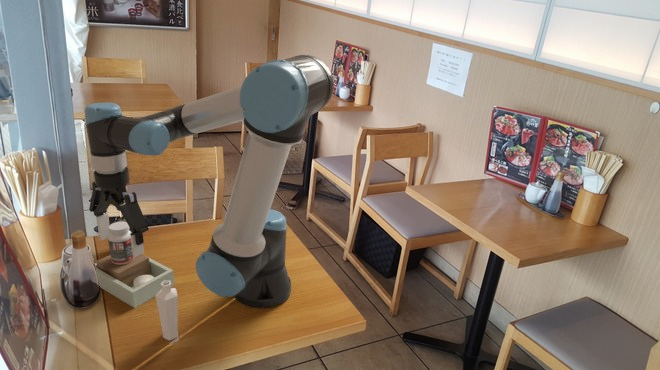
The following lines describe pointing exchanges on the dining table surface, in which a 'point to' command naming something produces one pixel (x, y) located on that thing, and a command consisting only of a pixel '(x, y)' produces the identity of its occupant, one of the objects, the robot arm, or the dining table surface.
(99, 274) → the tote
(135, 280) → the white half dome
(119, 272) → the walnut block
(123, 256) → the pill bottle
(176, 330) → the perfume bottle
